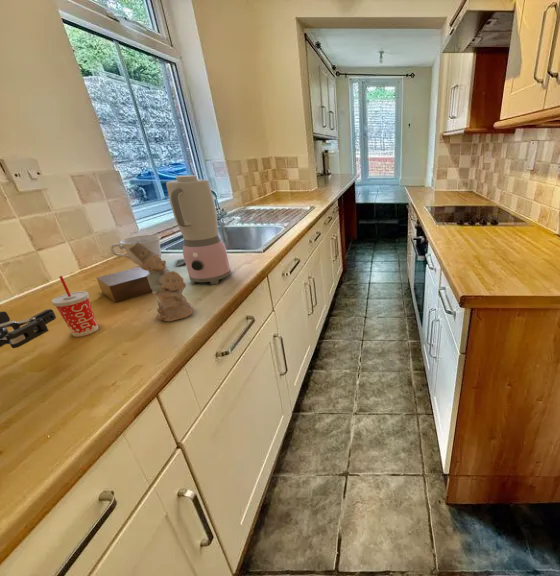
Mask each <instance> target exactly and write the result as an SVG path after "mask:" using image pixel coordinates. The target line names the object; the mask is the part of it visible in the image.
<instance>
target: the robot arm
mask: <svg viewBox="0 0 560 576" xmlns="http://www.w3.org/2000/svg"><path fill="white" fill-rule="evenodd" d="M56 318H57V317H56V314H55V311H54V310H53V309H52V308H51V309H44V310H43V311H41V312H39V313H36V314H35V315H33V316H31V317H29V318H25V319H22V320H18V321H16V320H11V318H10V316H9V314H8V313H7V312H6V311H0V349H1V348H3V346H5V345H10V347H11V348H12V349H17V348H20V347H22V346H24V345H25V344H27V343H29V342H31V341H32V340H34V339H36V338H38V337H40V336H42V335H44V334H46V333H47V332H49V329H48V327H47V324H49V323H51V322H53V321H55V320H56ZM8 328H12V330H10V331H9V330H8Z"/></svg>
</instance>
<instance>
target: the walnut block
mask: <svg viewBox="0 0 560 576" xmlns="http://www.w3.org/2000/svg"><path fill="white" fill-rule="evenodd" d="M148 271H149V270H148ZM148 271H147V270H143V269H142V268H141V267H140V266H138V267H137V266H136V267H133V268H129V269H125V270H121V271H117V272H113V273H110V274H104V275H101V276H97V277H96V281H97V283H98V286H99V289H100V291H101V293H102V294H103V295H105V296H106V297H107V298H108V299H110V300H111V301H113V302H114V303H119V302H121V301H125V300H129V299H132V298H134V297H138V296H142V295H145V294H148V293H152V292H153V290H152V289H151V288H150V284H149V282H148V279H147V275H149V272H148Z"/></svg>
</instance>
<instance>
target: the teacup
mask: <svg viewBox="0 0 560 576" xmlns="http://www.w3.org/2000/svg"><path fill="white" fill-rule="evenodd" d="M161 238H162V237H161V236H160V235H157V234H145V235H144V234H143V235H137V236H136V235H135V236H132V237H127V238H123V239H121V240H120V241H119V243H117V242H116V243H112V244H111V245H110V249H109V250H110V252H111V253H112V254H113V255H115V256H117V257H122V258H127V259H128V260H130V261H131V262H132V263H133V264H135V265H138V266H139V267H141V268H142V262H141V261H140V260H139V259H138V258H137V257H136V256H135V255H134V254H133V253H132V252H131V251H130V250H129V249H130V248H131V247H132V246H133V245H134V244H135V243H137V242H140V243H141V244H142V245H144V246H145V247H146V248H147V249H149V250H150V251H152V252H153V253H155V254H158V255H159V257H160V258H161V259H162V249H161V242H160V241H161ZM121 245H122V246H121ZM116 247H118V248H119V249H120V250H123V249H124V250H125V251H126V254H124V253H118V252H116V251H115V248H116Z"/></svg>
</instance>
